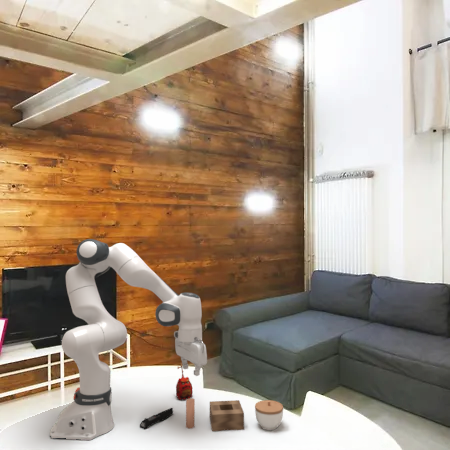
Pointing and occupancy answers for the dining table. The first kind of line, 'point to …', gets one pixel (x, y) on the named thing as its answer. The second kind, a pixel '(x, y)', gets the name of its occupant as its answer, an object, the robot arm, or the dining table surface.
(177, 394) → the red clay folk toy
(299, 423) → the dining table surface
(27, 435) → the dining table surface
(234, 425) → the socket block
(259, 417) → the lidded jar
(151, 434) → the dining table surface
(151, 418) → the electric trimmer
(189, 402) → the peg
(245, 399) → the dining table surface
